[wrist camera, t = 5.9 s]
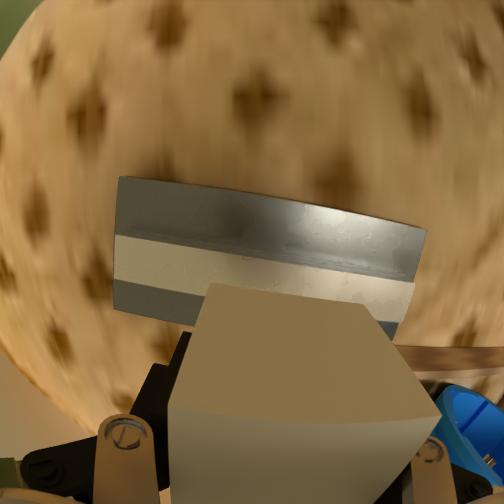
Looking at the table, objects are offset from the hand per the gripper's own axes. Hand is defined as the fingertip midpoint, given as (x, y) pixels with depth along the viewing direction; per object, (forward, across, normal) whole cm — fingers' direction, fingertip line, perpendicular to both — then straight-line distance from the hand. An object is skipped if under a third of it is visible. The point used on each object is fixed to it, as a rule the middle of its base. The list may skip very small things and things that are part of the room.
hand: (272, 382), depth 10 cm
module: (+1, 0, 0) cm, 1 cm away
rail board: (+12, 0, 0) cm, 12 cm away
